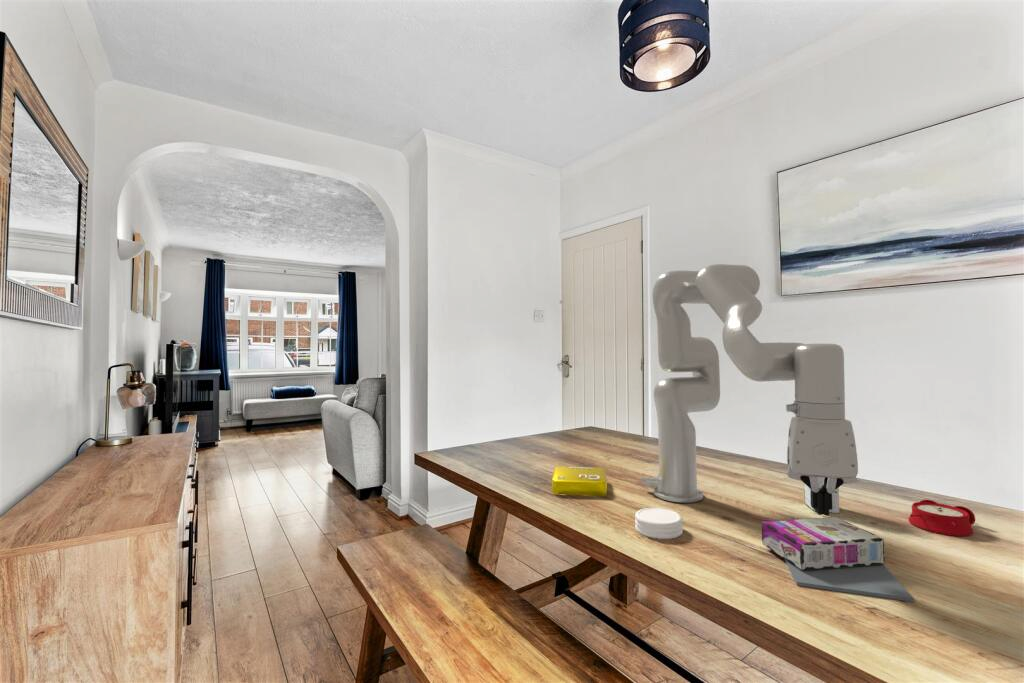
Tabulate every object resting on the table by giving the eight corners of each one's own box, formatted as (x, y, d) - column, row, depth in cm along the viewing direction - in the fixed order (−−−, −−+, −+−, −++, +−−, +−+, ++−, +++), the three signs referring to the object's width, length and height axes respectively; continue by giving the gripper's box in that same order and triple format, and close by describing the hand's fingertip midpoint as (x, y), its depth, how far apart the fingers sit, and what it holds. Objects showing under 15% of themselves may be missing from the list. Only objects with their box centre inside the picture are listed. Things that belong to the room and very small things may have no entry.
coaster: (658, 544, 95) (658, 527, 95) (625, 527, 104) (625, 511, 104) (692, 534, 100) (692, 518, 100) (658, 518, 109) (658, 504, 109)
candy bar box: (801, 572, 81) (886, 565, 83) (800, 544, 81) (885, 537, 83) (761, 545, 92) (836, 539, 94) (760, 520, 92) (836, 515, 94)
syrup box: (840, 513, 109) (839, 452, 109) (812, 512, 110) (811, 451, 111) (829, 505, 115) (828, 447, 115) (802, 503, 116) (801, 446, 116)
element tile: (605, 481, 138) (605, 465, 138) (607, 498, 124) (607, 480, 124) (555, 480, 141) (555, 464, 141) (551, 496, 126) (551, 478, 126)
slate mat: (796, 585, 78) (796, 581, 78) (777, 545, 93) (777, 542, 93) (913, 601, 73) (913, 598, 73) (873, 556, 88) (873, 553, 88)
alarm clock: (901, 511, 101) (918, 482, 110) (903, 537, 102) (920, 506, 111) (966, 525, 93) (979, 493, 102) (968, 553, 94) (981, 519, 103)
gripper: (776, 413, 83) (778, 515, 83) (877, 416, 78) (879, 525, 77) (769, 407, 90) (770, 501, 90) (861, 410, 85) (863, 510, 85)
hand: (821, 512), depth 84 cm, fingers closed
